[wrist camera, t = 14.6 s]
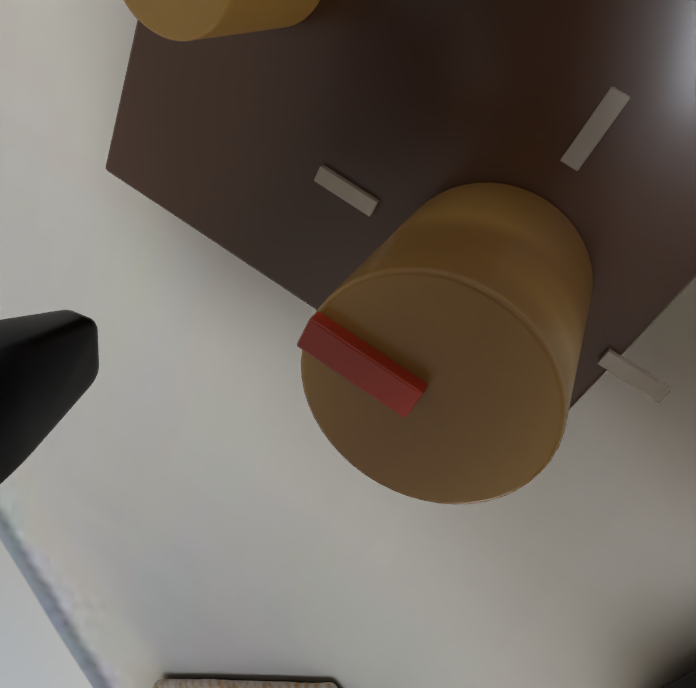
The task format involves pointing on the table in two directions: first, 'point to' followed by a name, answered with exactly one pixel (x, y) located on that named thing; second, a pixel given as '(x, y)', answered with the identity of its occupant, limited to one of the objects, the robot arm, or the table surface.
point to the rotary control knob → (454, 346)
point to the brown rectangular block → (431, 139)
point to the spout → (217, 16)
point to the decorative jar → (235, 684)
